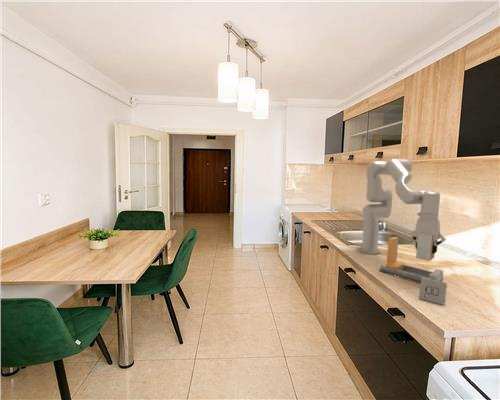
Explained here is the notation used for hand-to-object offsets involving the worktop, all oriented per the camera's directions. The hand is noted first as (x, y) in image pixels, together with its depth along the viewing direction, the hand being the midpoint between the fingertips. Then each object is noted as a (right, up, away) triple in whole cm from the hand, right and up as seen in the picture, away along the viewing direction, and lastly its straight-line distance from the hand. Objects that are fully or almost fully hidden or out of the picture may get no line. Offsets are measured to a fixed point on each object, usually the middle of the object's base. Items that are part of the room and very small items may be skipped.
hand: (425, 251), depth 142 cm
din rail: (-4, -14, +6) cm, 16 cm away
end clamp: (-9, -12, +12) cm, 19 cm away
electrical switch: (-10, -18, -20) cm, 28 cm away
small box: (0, -4, 0) cm, 4 cm away
